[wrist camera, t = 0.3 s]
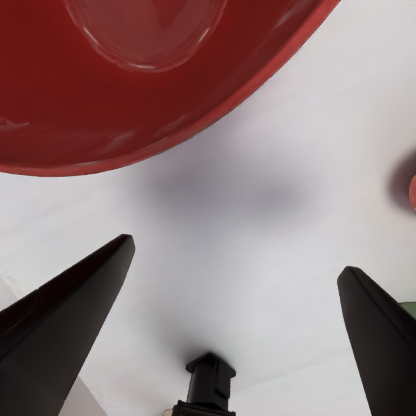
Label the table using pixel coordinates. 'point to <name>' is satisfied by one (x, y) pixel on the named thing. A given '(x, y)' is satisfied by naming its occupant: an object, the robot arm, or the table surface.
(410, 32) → the table surface
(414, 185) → the apple
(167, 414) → the french press
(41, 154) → the mixing bowl
